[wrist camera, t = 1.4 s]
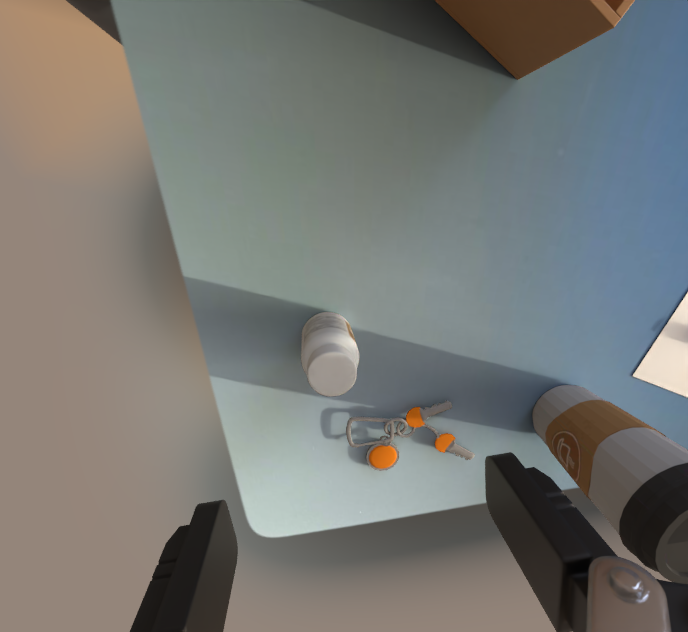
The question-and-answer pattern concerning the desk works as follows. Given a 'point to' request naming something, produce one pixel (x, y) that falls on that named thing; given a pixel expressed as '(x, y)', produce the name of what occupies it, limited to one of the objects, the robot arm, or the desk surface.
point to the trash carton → (534, 27)
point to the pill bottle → (329, 354)
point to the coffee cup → (622, 473)
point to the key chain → (387, 454)
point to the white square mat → (669, 355)
